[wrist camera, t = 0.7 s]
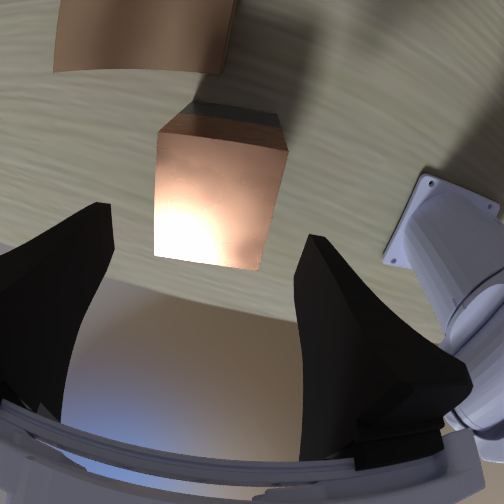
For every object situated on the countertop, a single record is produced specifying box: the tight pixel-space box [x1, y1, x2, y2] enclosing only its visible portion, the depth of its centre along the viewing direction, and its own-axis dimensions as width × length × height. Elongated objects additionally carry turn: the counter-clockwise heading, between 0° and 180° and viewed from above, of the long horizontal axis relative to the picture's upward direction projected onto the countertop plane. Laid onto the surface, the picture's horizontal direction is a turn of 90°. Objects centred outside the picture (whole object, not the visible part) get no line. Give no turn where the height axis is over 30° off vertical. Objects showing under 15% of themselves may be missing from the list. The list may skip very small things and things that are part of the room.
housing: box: [154, 101, 289, 271], centre depth 15 cm, size 5×6×7 cm
